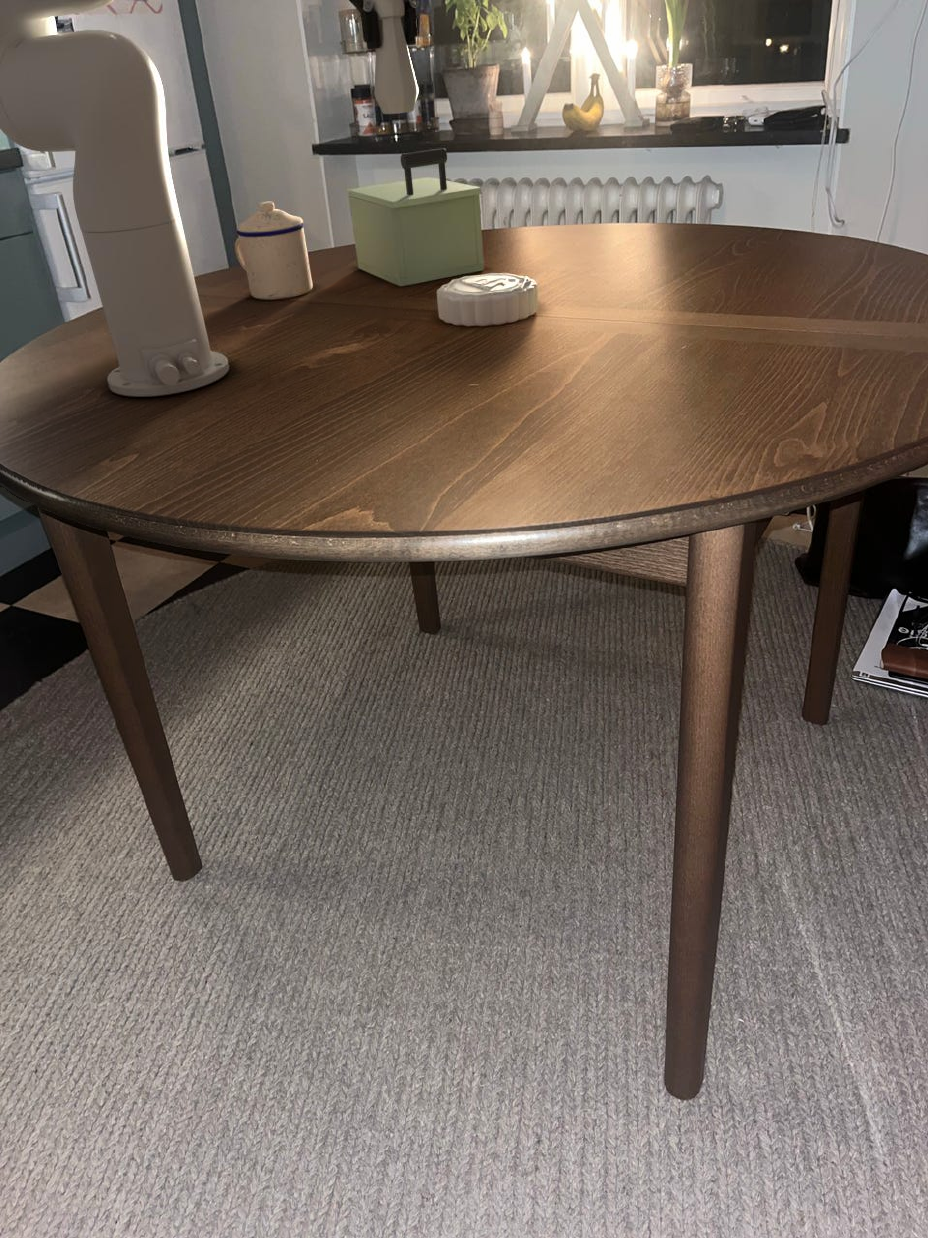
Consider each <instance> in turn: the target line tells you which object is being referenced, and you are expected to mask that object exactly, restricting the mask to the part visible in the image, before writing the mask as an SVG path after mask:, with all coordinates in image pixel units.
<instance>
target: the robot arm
mask: <svg viewBox="0 0 928 1238" xmlns="http://www.w3.org/2000/svg"><path fill="white" fill-rule="evenodd" d="M114 1H115V0H0V130H1V132H2V133H3V134H4V135H5V136H6V137H7V138H8V139H9V140H11V141H12V142H13V143H15V144H17V145H18V146H20V147H22V148H24V149H27V150H30V151H34V152H43V153H44V152H45V153H57V152H58V153H60V152H61V153H62V152H63V153H64V152H75V153H74V168H73V173H72V174H73V175H72V176H73V177H72V198H73V205H74V210H75V214H76V218H77V222H78V226H79V229H80V232H81V235H82V238H83V242H84V245H85V249H86V253H87V255H88V260H89V263H90V266H91V270H92V274H93V277H94V280H95V284H96V287H97V288H96V289H97V291H98V296H99V298H100V302H101V306H102V309H103V313H104V317H105V320H106V323H107V327H108V330H109V334H110V338H111V341H112V344H113V349H114V351H115V355H116V359H117V362H118V367H116V368H114V369H113V370H112V371H111V372H110V373H109V374H108V376H107V377H106V378H107V379H106V380H107V384H108V387H109V390H110V391H111V392H113V393H114V394H117V395H119V396H124V397H134V398H149V397H152V398H153V397H163V396H171V395H175V394H181V393H184V392H188V391H189V392H190V391H192V390H196V389H199V388H202V387H205V386H208V385H211V384H212V383H215V382H217V381H219V380H220V379H221V378H223V377H224V376H225V375H226V374H227V373H228V372H229V370H230V364H229V359H228V358H227V357H226V355H224V354H223V353H220V352H217V351H212V350H211V347H210V342H209V338H208V337H209V336H208V333H207V328H206V325H205V320H204V315H203V310H202V306H201V302H200V297H199V293H198V289H197V285H196V284H197V283H196V281H195V276H194V275H195V274H194V271H193V266H192V263H191V262H192V261H191V258H190V257H191V256H190V253H189V249H188V245H187V239H186V236H185V232H184V231H185V230H184V228H183V223H182V217H181V215H180V210H179V206H178V201H177V197H176V192H175V187H174V183H173V182H174V181H173V178H172V171H171V165H170V159H169V157H170V156H169V150H168V138H167V115H166V113H167V111H166V99H165V94H164V87H163V84H162V80H161V76H160V74H159V72H158V70H157V67H156V66H155V64H154V62H153V60H152V59H151V58H150V56H149V55H148V53H147V52H145V50H144V48H142V47H141V46H140V45H139V44H138V43H136V42H134V41H133V40H131V39H130V38H129V37H126V36H125V35H122V34H119V33H117V32H113V31H109V30H108V31H107V30H103V29H85V30H75V31H68V32H60V33H58V31H57V23H56V18H57V17H61V16H70V15H77V14H83V13H89V12H93V11H94V12H95V11H97V10H101V9H104V8H105V7H107V6H108V5H111V4H112V3H113V2H114ZM348 1H349V2H350V4H352V6H353V7H354V8H355V9H356V11H357V12H358V13H359V14H360V21H361V22H360V23H361V29H362V39H363V41H364V43H366V48H367V49H368V50H376V49H378V48H380V47H381V41H380V32H379V22H378V14H377V12H376V11H374V9H373V0H348ZM403 1H404V6H405V15H404V16H402V17H401V18H400V19H401V23H402V27H403V31H404V36H405V40H406V44H407V46H416V44H417V37H418V33H419V32H418V22H417V21H418V19H417V11H416V8H417V7H418V6H419V5H420V4H419V3H420V1H421V0H403ZM55 17H56V18H55Z"/></svg>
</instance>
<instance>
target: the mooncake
mask: <svg viewBox="0 0 928 1238" xmlns="http://www.w3.org/2000/svg"><path fill="white" fill-rule="evenodd" d="M538 297H539V295H538V284H537V282H536V280H534V279H532V278H531V279H530V277H529V276H528V275H527V276H526V275H518V274H517V275H516V274H513V273H509V272H501V273H498V272H490V273H484V274H478V275H477V274H476V275H465V276H463V277H460V278H455V279H452V280H451V281H450V282H448V283H446V284H443V285H441V286H440V288H438V289H437V290H436V302H437V312H438V318H439V320H441V321H443V322H444V323H446V324H452V325H453V326H464V327H489V326H501V325H504V324H511V323H515V322H518V321H521V320H525V319H528V318H529V316H530V317H531V316H533V315H535V314H536V312H537V311H538V309H539V298H538Z"/></svg>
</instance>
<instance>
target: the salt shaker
mask: <svg viewBox="0 0 928 1238" xmlns="http://www.w3.org/2000/svg"><path fill="white" fill-rule="evenodd" d="M373 9H374V11H376V12H377V14H378V22H379V32H380V41H381V47H380V48H378V49H375V62H374V63H375V65H374V89H373V93H374V97H375V100H376V102H377V104H378V106H379V108H380V110H381V112H382V114H383V115H394V114H405V113H411V112H414V109H415V105H416V102H417V99H418V97H419V96H418V95H419V86H418V83H417V79H416V75H415V70H414V67H413V63H412V60H411V57H410V52H409V48H408V45H407V44H406V40H405V36H404V31H403V27H402V23H401V19H400V18H401V17H402V16H404V15H405V6H404V1H403V0H373Z"/></svg>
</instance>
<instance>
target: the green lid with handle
mask: <svg viewBox="0 0 928 1238" xmlns="http://www.w3.org/2000/svg"><path fill="white" fill-rule="evenodd" d="M447 161H448V153H447V150H446V148H444V147H441V148H435V149H426V150H420V151H413V152H405V153H401V155H400V164H401V167H402V169H403V170H404V171H403V172H404V180H401V181H394V182H388V183H381V184H375V185H368V186H362V187H356V188H350V189H349V188H348V189H347V195H348V197H349V196H352V197H355V198H359V199H362V200H366V201H369V202H373V203H376V204H380V205H383V206H387V207H390V208H400V207H406V206H412V205H418V204H424V203H430V202H436V201H442V200H448V199H454V198H461V197H467V196H473V195H479V196H480V195H482V194H483V189H482V187H481V186H475V185H471V184H466V183H462V182H461V183H460V182H456V181H451V180H447V175H446V174H447V173H446V163H447ZM434 165H437V166H438V175H439V176H438V177H439V178H436V177H432V176H427V177H420V178H414V179H413V177H412V176H413V175H412V169H413V168H414V169H415V168H421V167H427V166H434Z"/></svg>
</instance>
